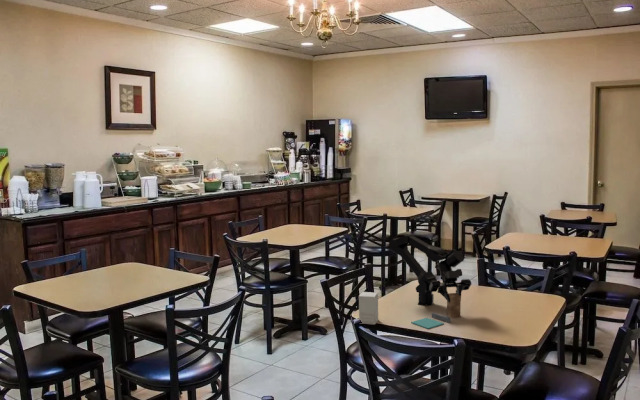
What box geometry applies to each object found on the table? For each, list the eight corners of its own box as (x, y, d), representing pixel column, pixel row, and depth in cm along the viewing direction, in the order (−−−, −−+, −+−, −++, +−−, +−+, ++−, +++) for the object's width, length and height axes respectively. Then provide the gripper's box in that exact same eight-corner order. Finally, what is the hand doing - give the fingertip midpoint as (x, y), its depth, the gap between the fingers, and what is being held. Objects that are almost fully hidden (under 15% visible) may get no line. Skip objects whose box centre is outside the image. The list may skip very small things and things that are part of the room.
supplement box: (378, 319, 243) (378, 292, 242) (374, 325, 236) (374, 296, 235) (362, 318, 245) (362, 291, 244) (358, 323, 238) (358, 295, 237)
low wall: (431, 317, 245) (431, 312, 245) (433, 316, 246) (433, 312, 246) (448, 322, 237) (448, 318, 237) (450, 322, 238) (450, 317, 238)
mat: (411, 323, 238) (411, 322, 238) (426, 318, 244) (426, 317, 244) (428, 329, 230) (428, 328, 230) (443, 324, 236) (443, 323, 235)
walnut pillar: (450, 317, 244) (450, 296, 243) (447, 314, 249) (447, 293, 248) (460, 317, 245) (460, 295, 244) (456, 314, 249) (456, 293, 248)
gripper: (431, 263, 247) (439, 293, 237) (470, 262, 250) (479, 291, 240) (425, 276, 256) (433, 306, 246) (463, 274, 258) (472, 303, 248)
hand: (454, 301), depth 245 cm, fingers closed on walnut pillar, 5 cm apart
